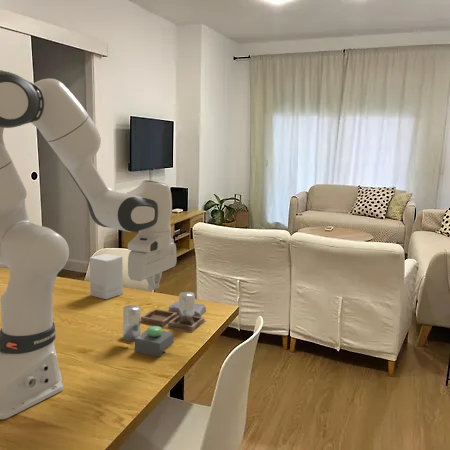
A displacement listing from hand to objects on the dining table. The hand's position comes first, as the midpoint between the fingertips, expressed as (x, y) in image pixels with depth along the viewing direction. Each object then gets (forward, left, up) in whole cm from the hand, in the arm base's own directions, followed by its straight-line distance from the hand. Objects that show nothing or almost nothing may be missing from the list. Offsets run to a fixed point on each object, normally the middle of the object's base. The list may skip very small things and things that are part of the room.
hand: (153, 288), depth 126 cm
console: (0, 0, -18) cm, 18 cm away
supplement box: (+33, +41, -18) cm, 56 cm away
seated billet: (+18, -1, -17) cm, 25 cm away
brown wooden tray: (+18, +4, -18) cm, 26 cm away
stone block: (+29, +4, -18) cm, 35 cm away
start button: (0, 0, -17) cm, 17 cm away
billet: (+2, +9, -18) cm, 20 cm away
